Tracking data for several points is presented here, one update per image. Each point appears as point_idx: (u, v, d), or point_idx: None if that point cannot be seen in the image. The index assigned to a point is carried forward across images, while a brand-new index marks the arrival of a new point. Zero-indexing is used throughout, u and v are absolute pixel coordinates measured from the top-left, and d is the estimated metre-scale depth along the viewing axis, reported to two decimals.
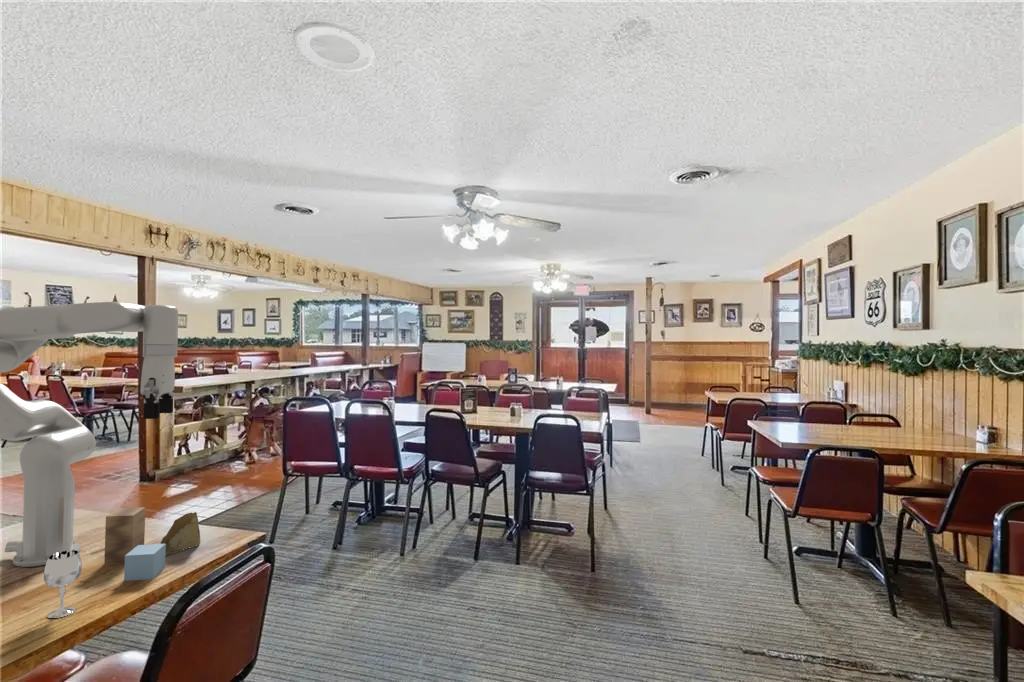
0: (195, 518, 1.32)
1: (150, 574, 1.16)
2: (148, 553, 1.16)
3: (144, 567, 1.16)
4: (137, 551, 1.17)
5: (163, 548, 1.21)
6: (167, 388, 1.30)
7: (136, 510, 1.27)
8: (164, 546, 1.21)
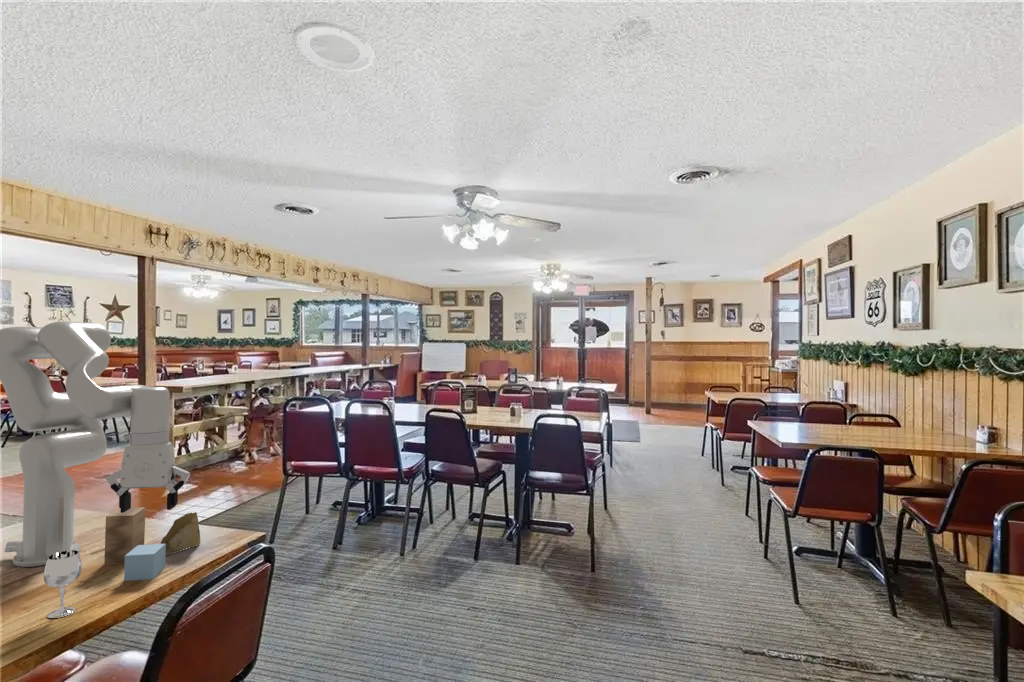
0: (195, 518, 1.32)
1: (150, 574, 1.16)
2: (148, 553, 1.16)
3: (144, 567, 1.16)
4: (137, 551, 1.17)
5: (163, 548, 1.21)
6: None
7: (136, 510, 1.27)
8: (164, 546, 1.21)
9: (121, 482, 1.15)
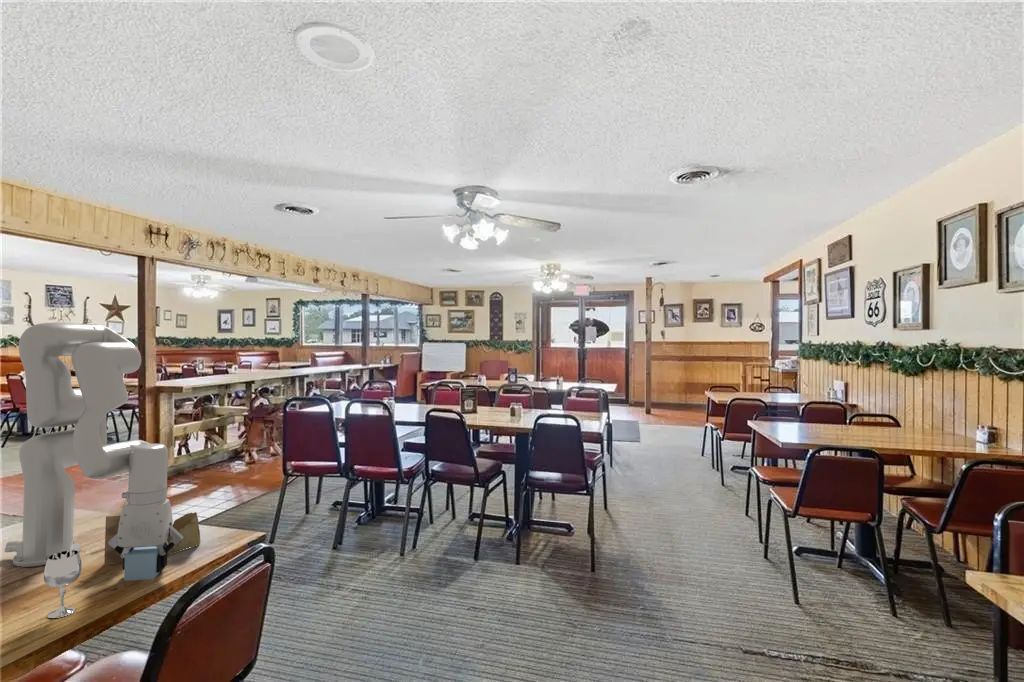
0: (195, 518, 1.32)
1: (150, 573, 1.16)
2: (148, 553, 1.16)
3: (144, 567, 1.16)
4: (137, 551, 1.17)
5: None
6: None
7: None
8: None
9: (118, 541, 1.15)
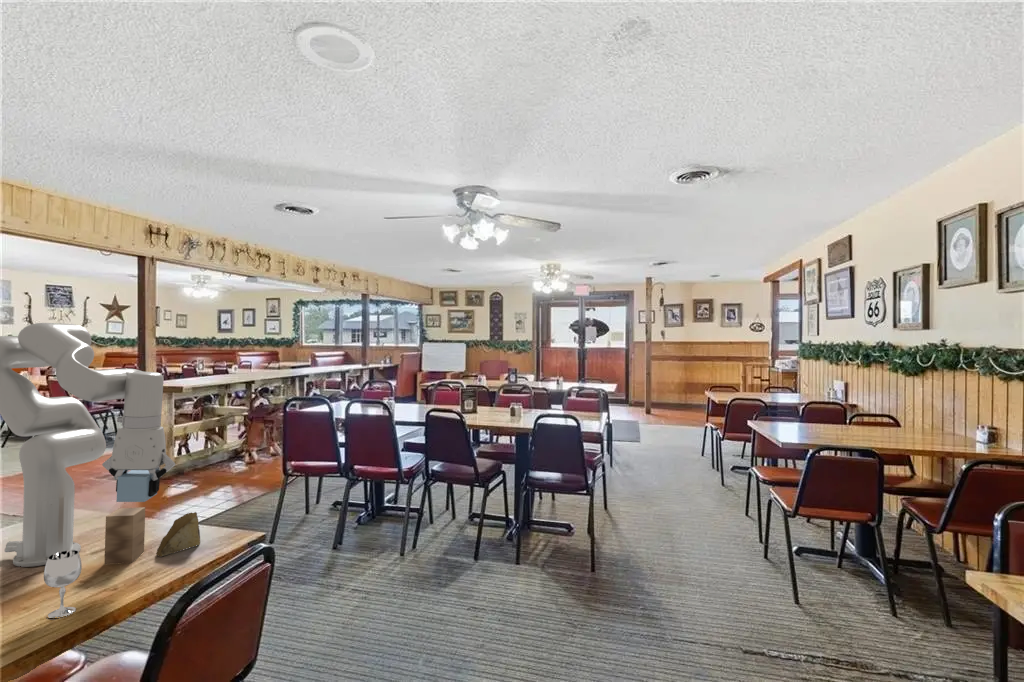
0: (195, 518, 1.32)
1: (142, 496, 1.19)
2: (141, 476, 1.19)
3: (137, 490, 1.18)
4: (130, 474, 1.20)
5: None
6: None
7: (136, 510, 1.27)
8: None
9: (112, 463, 1.18)
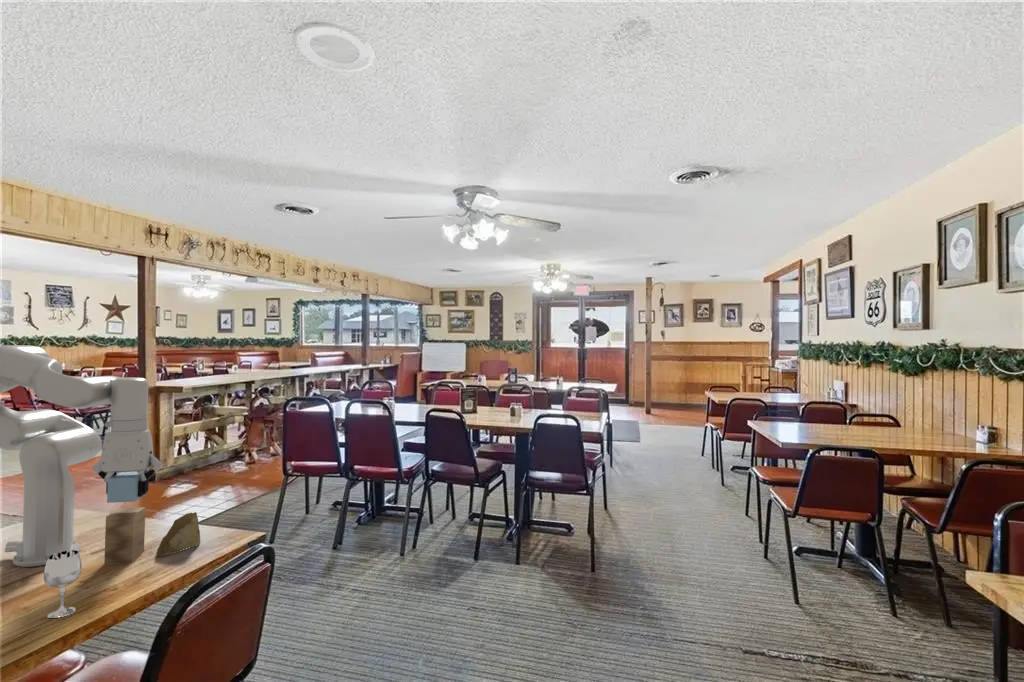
0: (195, 518, 1.32)
1: (132, 496, 1.24)
2: (130, 477, 1.24)
3: (126, 490, 1.23)
4: (119, 476, 1.25)
5: None
6: None
7: (136, 510, 1.27)
8: None
9: (101, 466, 1.23)
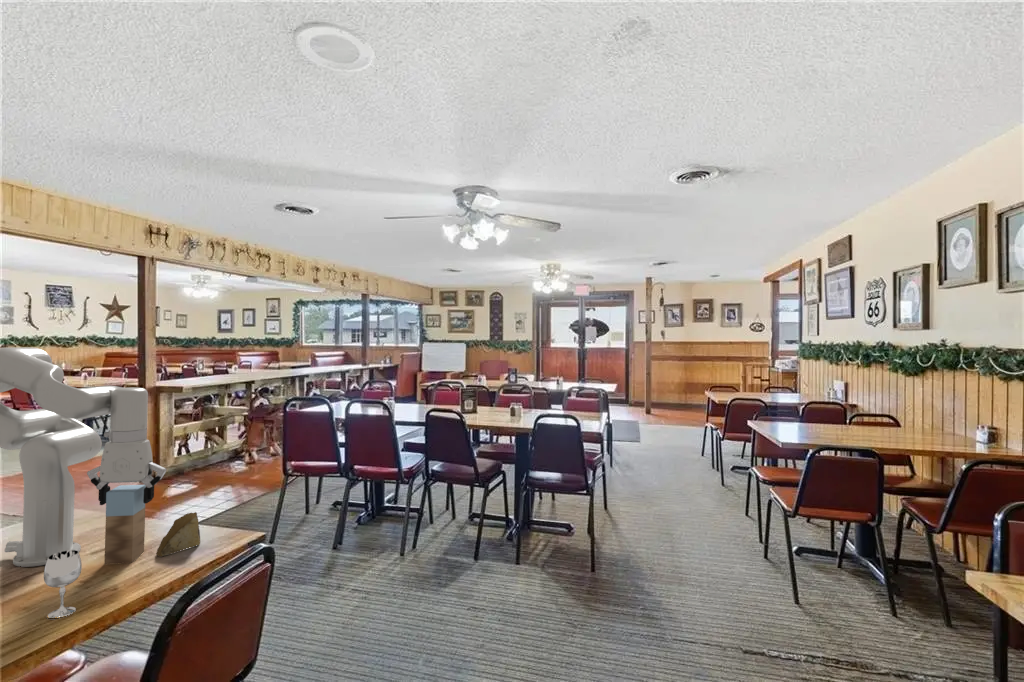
0: (195, 518, 1.32)
1: (130, 510, 1.24)
2: (129, 491, 1.24)
3: (125, 504, 1.23)
4: (118, 489, 1.25)
5: (143, 488, 1.29)
6: None
7: None
8: (144, 487, 1.29)
9: (100, 476, 1.23)
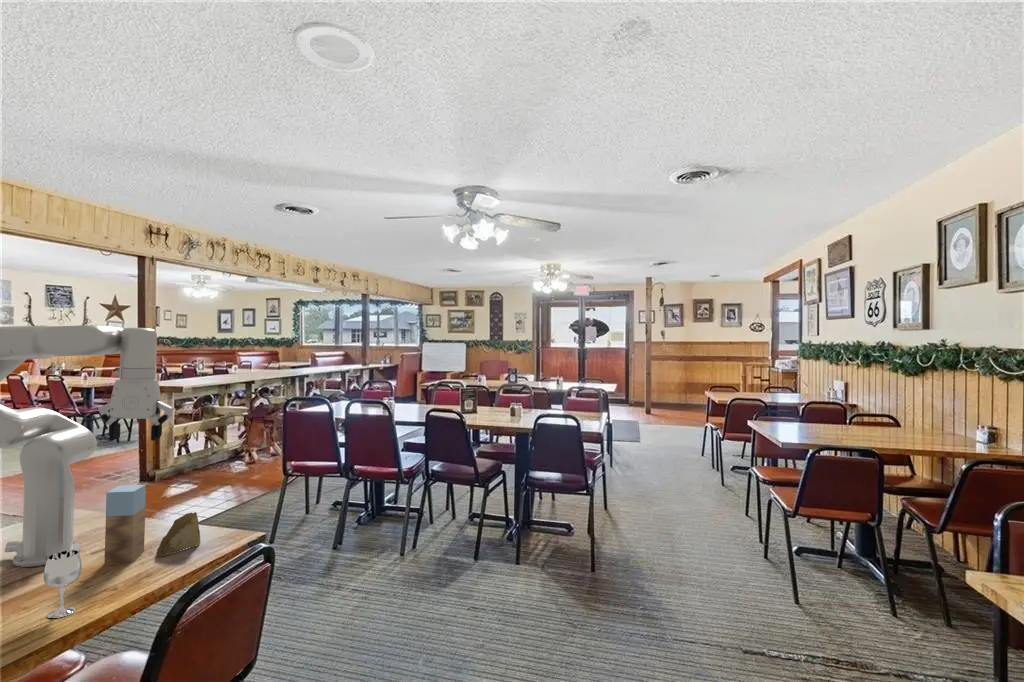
0: (195, 518, 1.32)
1: (130, 510, 1.24)
2: (129, 491, 1.24)
3: (125, 504, 1.23)
4: (118, 489, 1.25)
5: (143, 488, 1.29)
6: None
7: None
8: (144, 486, 1.29)
9: (110, 412, 1.26)
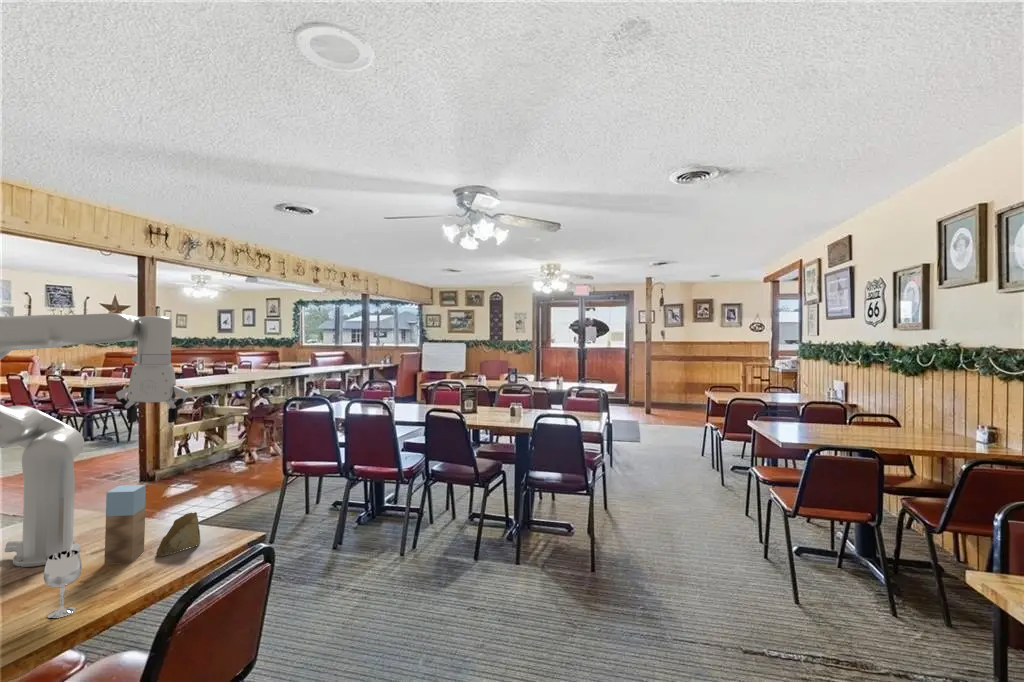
0: (195, 518, 1.32)
1: (130, 510, 1.24)
2: (129, 491, 1.24)
3: (125, 504, 1.23)
4: (118, 489, 1.25)
5: (144, 488, 1.29)
6: None
7: None
8: (144, 487, 1.29)
9: (129, 396, 1.32)
